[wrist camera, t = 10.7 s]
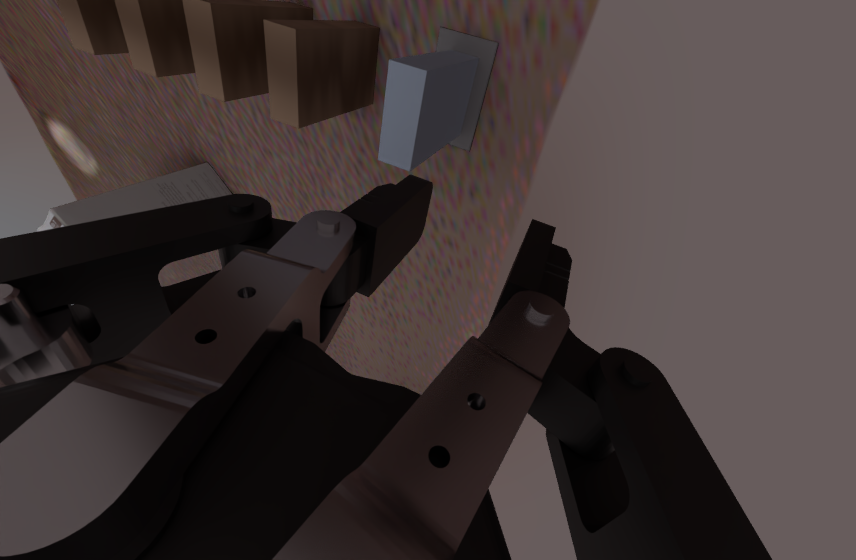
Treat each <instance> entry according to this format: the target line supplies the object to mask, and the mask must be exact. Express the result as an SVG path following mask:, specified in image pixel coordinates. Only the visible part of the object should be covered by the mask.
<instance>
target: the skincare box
mask: <svg viewBox="0 0 856 560" xmlns="http://www.w3.org/2000/svg"><path fill="white" fill-rule="evenodd" d="M226 195H232V193H231V192H230V191H229V189H228V188H227V187H226V185H225V184H224V183H223V181H222V180H221V179H220V177H219V176H218V175H217V174H216V172H215V171H214V170H213V168H212V167H211V166H210V165H209V163H207V162H206V163H203V164H200V165H196V166H193V167H190V168H186V169H183V170H180V171H176V172H173V173H169V174H166V175H163V176H159V177H156V178H153V179H149V180H146V181H142V182H139V183H136V184H132V185H129V186H126V187H122V188H119V189H115V190H112V191H109V192H105V193H102V194H98V195H95V196H92V197H88V198H85V199H81V200H78V201H75V202H72V203H68V204H65V205H62V206H58V207H55V208H51V209H50V210H49V213H48V216H47V218H46V220H45V222H44V224H43V225H42V226H40V227H39V228H38V230H37V232H38V231H44V230H49V229H54V228H59V227H64V226H70V225H75V224H80V223H85V222H90V221H96V220H101V219H106V218H111V217H116V216H122V215H127V214H132V213H137V212H143V211H148V210H153V209H158V208H163V207H169V206H174V205H179V204H184V203H189V202H195V201H200V200H205V199H210V198H215V197H221V196H226Z"/></svg>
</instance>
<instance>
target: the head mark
mask: <svg viewBox="0 0 856 560" xmlns="http://www.w3.org/2000/svg"><path fill="white" fill-rule="evenodd" d="M498 44H499V43H497V42H494V41H490V40H486V39H483V38H479V37H475V36H472V35H468V34H465V33H461V32H457V31H454V30H450V29H446V28H443V27H440V32H439V38H438V43H437V49H436V52H441V51H447V50H453V51H457V52H460V53H463V54H467V55H470V56H474V57H477V58H479V60H478V64H477V68H476V72H475V77H474V81H473V85H472V89H471V93H470V97H469V101H468V105H467V109H466V113H465V117H464V121H463V125H462V129H461V133H460V135H459V136H458V137H456V138H455V139H453V140H452V141H451V142H449V143H448V144H450V145H452V146H455V147H458V148H461V149H464V150H467V151H470V148H471V145H472V141H473V137H474V133H475V130H476V126H477V122H478V118H479V115H480V111H481V107H482V103H483V100H484V96H485V92H486V89H487V85H488V81H489V77H490V74H491V70H492V66H493V62H494V59H495V55H496V51H497V47H498Z"/></svg>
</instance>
